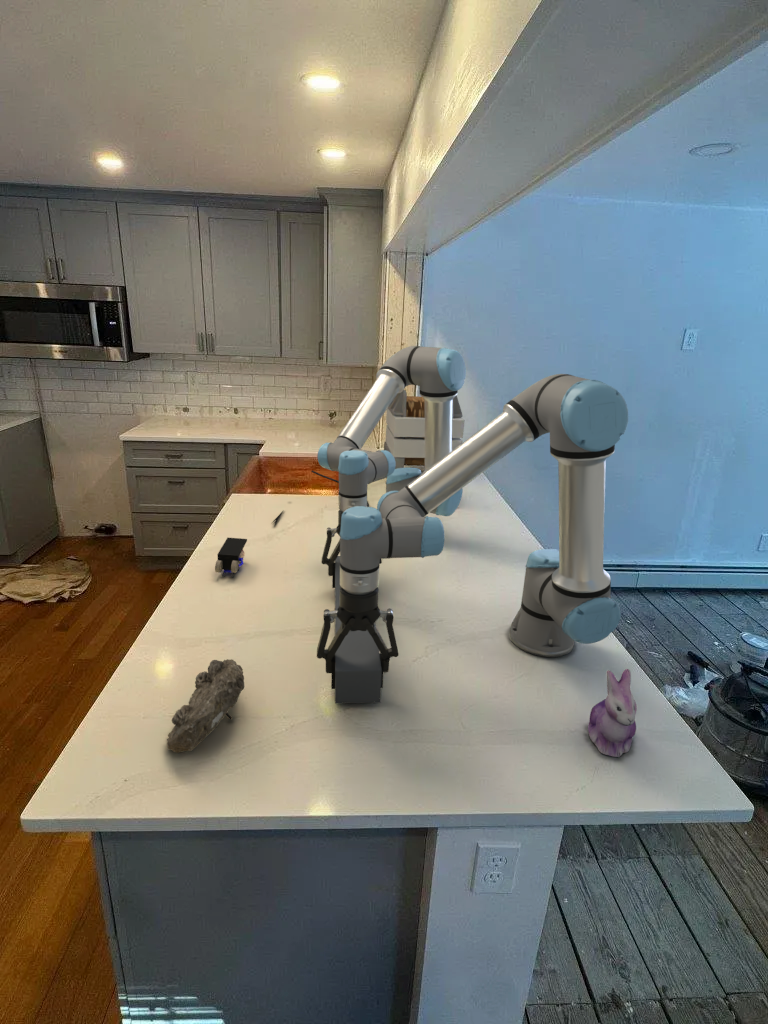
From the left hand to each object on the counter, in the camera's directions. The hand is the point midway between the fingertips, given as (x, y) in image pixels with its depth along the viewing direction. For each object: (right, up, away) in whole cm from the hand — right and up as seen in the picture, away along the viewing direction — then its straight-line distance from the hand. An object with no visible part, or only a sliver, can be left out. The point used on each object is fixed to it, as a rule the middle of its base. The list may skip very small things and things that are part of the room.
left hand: (351, 585), depth 157 cm
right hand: (+4, -15, -41) cm, 44 cm away
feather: (-29, +20, +56) cm, 66 cm away
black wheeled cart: (-36, +3, +10) cm, 37 cm away
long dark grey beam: (+2, -8, -20) cm, 22 cm away
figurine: (+52, -23, -51) cm, 76 cm away
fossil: (-24, -19, -49) cm, 58 cm away
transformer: (+26, +39, +118) cm, 127 cm away
